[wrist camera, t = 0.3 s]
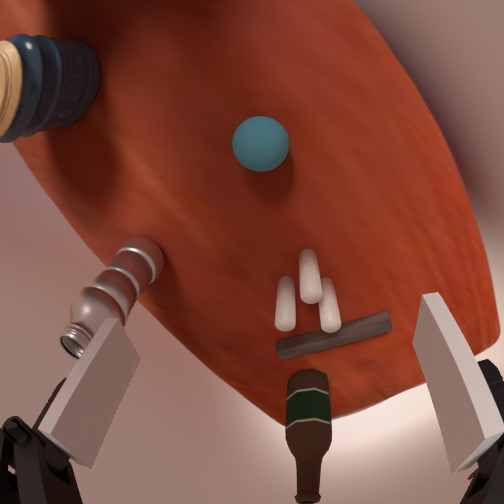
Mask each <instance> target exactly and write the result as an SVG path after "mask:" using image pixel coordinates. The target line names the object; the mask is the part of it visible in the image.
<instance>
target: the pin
mask: <svg viewBox="0 0 504 504" xmlns="http://www.w3.org/2000/svg"><path fill="white" fill-rule="evenodd" d="M320 280H321V286H322V293H323V295H322V298H321V300H320V301H318V302H319V311H320V321H321V328H322V330H323V331H325V332H328V333H333V332H336V331H337V330H339V329H340V327H341V319H340V314H339V308H338V303H337V298H336V293H335V288H334V283H333V281H332V280H331V279H330V278H327V277H324V278H321V279H320Z"/></svg>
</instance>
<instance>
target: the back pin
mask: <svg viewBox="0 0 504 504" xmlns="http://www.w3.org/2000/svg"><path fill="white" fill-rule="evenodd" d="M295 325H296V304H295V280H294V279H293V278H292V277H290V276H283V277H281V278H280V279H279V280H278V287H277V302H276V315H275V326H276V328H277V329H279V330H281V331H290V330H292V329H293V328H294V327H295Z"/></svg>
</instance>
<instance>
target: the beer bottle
mask: <svg viewBox="0 0 504 504" xmlns="http://www.w3.org/2000/svg"><path fill="white" fill-rule="evenodd" d="M285 432H286V441H287V444H288V447H289V449H290V451H291V453H292V454H293V456H294V457H295V459H296V466H297V467H296V468H297V495H296V496H295V499H296V502H297V503H299V504H314V503H317V502H319V501H320V498H321V496H320V494H319V485H320V472H321V463H322V458H323V456H324V455H325V454H326V452H327V451H328V450H329V447H330V444H331V442H332V423H331V407H330V393H329V385H328V380H327V375H326V374H325V373H322V372H320V371H317V370H315V369H309V370H302V371H297V372H296V373H295V374H294V375H293V376H292V377H291V378H290V379H289V380H288V387H287V407H286V427H285Z"/></svg>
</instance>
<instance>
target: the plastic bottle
mask: <svg viewBox="0 0 504 504" xmlns="http://www.w3.org/2000/svg"><path fill="white" fill-rule="evenodd" d="M163 265H164V257H163V254H162V252H161V250H160V248H159V247H158V245H157V244H156V243H155V242H153V241H152V240H150V239H148V238H144V237H134V238H132V239H130V240H128V241H126V242H125V243H123V245H122V246H121V247H120V249H119V250H118V252H117V254H116V256H115V258H114V259H113V260H112V261H111V263H110V264H109V265H108V267H107V268H106V269H105V270H104V271H103V272H102V273H101V274H100V275H99V276H98V277H96V278H95V279H94V280H93V281H91V282H90V283H89V284H87V285H86V286H85V287H83V288H82V289H81V290H79V291H78V292H77V293H76V294H75V295H74V297H73V299H72V302H71V305H70V320H71V322H70V323H68V324H67V325H66V326H65V328H64V331H63V332H62V333H61V335H60V337H59V343H60V345H61V347H62V348H63V350H64V351H65V352H66V353H67V354H68V355H70V356H71V357H72V358H74V359H76V360H79V358H80V357H81V355H82V354H83V352H84V351H85V349H86V348H87V346H88V345H89V343H90V342H91V340H92V339H93V337H94V336H95V334H96V333H97V331H98V330H99V328H100V327H101V325H102V324H103V322H104V321H105V319H106V318H119V319H120V321H121V323H122V325H123V327H124V326H125V323H126V321H127V318H128V316H129V314H130V311H131V309H132V307H133V306H134V303H135V302H136V300H137V299H138V297H139V295H140V294H141V293H142V292H143V291H144V290H145V289H146V287H147V286H148V285H150V284H151V283H152V282H154V281H155V280H156V279H157V278H158V276H159V275H160V273H161V271H162V268H163Z"/></svg>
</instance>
